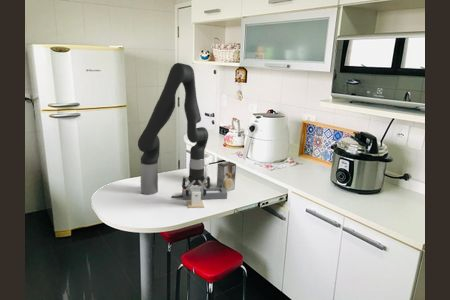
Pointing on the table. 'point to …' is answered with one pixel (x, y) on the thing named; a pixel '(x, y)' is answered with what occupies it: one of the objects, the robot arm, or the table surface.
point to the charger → (195, 197)
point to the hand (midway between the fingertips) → (195, 195)
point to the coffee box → (226, 175)
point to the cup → (206, 166)
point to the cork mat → (195, 205)
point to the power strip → (210, 194)
